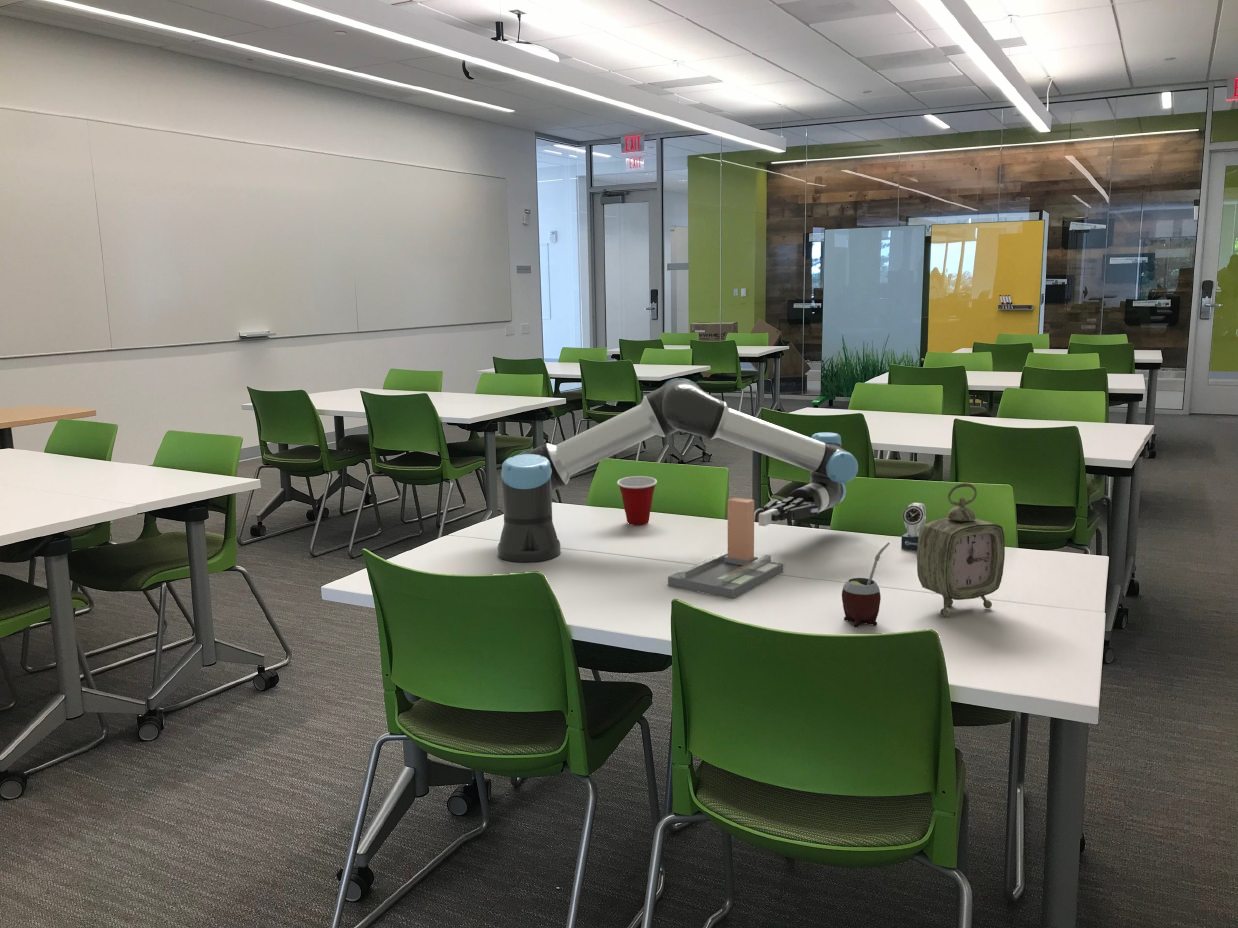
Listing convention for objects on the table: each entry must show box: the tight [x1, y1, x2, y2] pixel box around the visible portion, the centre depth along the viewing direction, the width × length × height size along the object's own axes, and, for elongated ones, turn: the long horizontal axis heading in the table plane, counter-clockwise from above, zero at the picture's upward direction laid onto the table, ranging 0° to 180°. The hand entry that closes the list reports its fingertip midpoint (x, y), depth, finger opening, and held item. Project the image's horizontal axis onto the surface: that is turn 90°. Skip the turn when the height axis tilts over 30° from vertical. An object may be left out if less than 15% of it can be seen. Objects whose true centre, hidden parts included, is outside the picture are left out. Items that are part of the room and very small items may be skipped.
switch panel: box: [667, 550, 785, 600], centre depth 207 cm, size 16×22×4 cm
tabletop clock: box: [916, 482, 1006, 618], centre depth 183 cm, size 14×9×25 cm, turn 114°
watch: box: [900, 502, 927, 552], centre depth 227 cm, size 6×8×11 cm
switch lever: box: [724, 496, 759, 566], centre depth 210 cm, size 6×4×14 cm, turn 53°
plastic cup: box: [616, 475, 658, 526], centre depth 257 cm, size 11×11×12 cm
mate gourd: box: [841, 541, 891, 628], centre depth 178 cm, size 8×8×15 cm
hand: (761, 520), depth 217 cm, fingers closed
